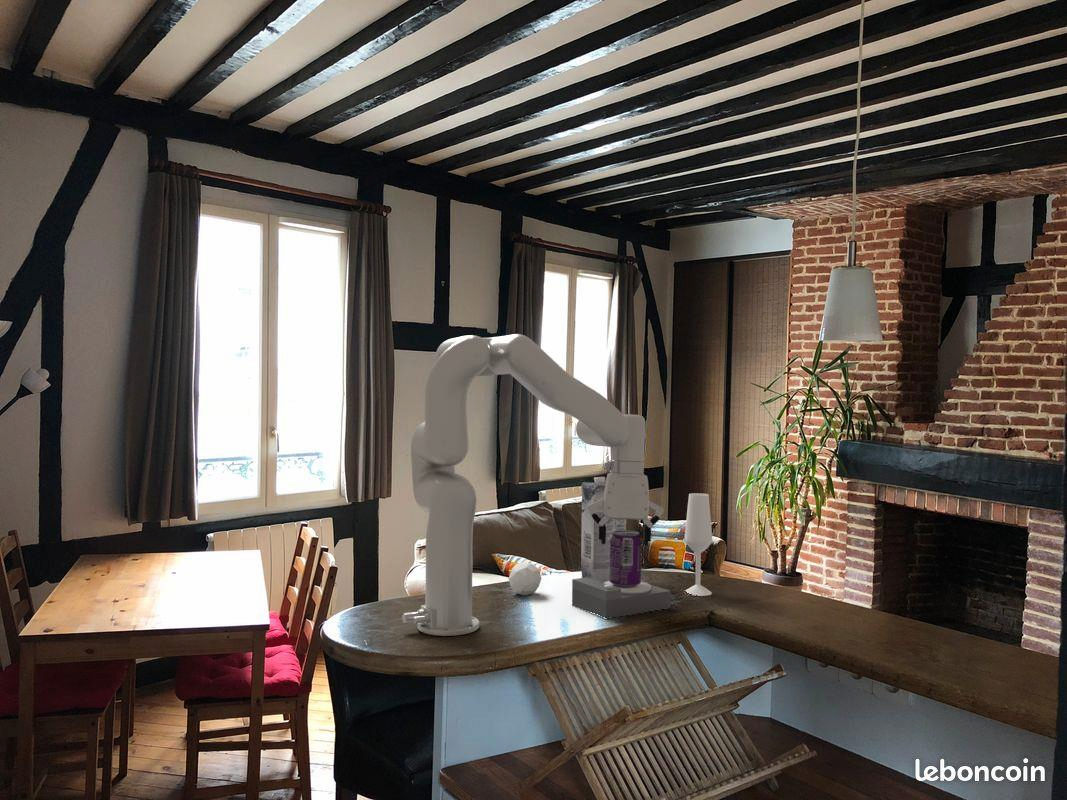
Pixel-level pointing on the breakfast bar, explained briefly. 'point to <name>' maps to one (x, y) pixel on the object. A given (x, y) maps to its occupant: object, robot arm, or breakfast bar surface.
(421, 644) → the breakfast bar surface
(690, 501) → the champagne flute
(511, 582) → the geometric ball
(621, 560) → the beverage can
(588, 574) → the juice carton
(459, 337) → the robot arm
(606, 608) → the grey display pedestal
